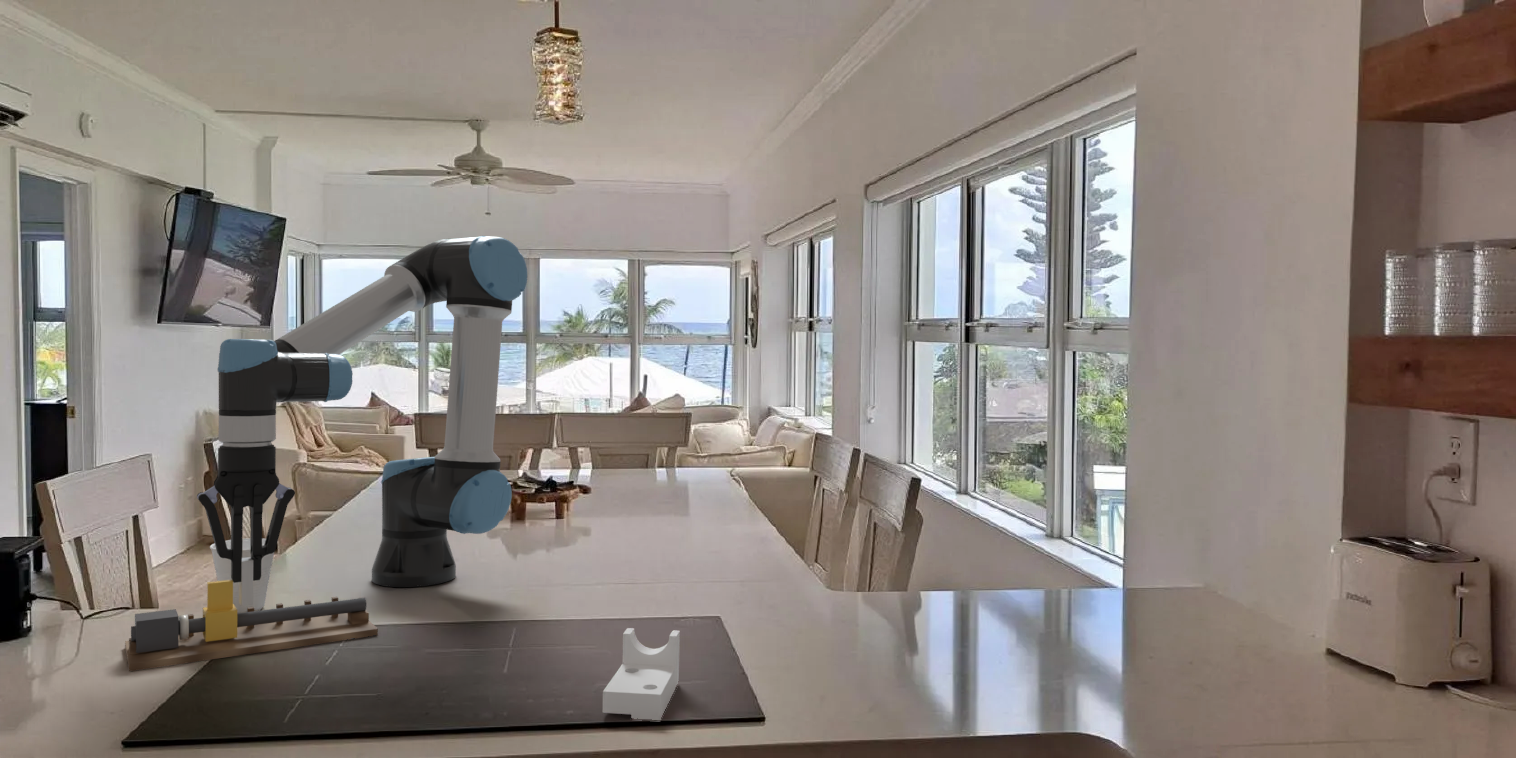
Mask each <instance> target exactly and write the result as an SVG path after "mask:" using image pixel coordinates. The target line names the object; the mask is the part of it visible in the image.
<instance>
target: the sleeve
mask: <svg viewBox="0 0 1516 758" xmlns="http://www.w3.org/2000/svg"><path fill="white" fill-rule="evenodd" d="M206 589H207V590H206V606H205V607H202V618H204V617H205V632H203V637H204V639H205V641H206V642H208V641H215V640H223V639H230V638H237V609H236V607H235V605H234V604H233V580H224V581H217V580H216V581H208V582H207V584H206Z"/></svg>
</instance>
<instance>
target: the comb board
mask: <svg viewBox="0 0 1516 758" xmlns="http://www.w3.org/2000/svg"><path fill="white" fill-rule="evenodd" d="M334 601H339V597H338V596H332V597H331V602H334ZM310 604H312V600H311V599H307V600H304V603H303V605H310ZM275 605H276V608H275V609H277V608H284V604H283V603H282V602H280V603H276V604H275ZM253 611H254V607H247V612H253ZM369 614H370V613H369V611H368V610H367V609H366V610H365V611H359V612H351V613H343V614H336V615H328V616H320V617H313V618H305V619H297V620H290V621H282V622H274V623H267V624H259V625H251V626H244V627H237V638H230V639H223V640H215V641H208V642H206V641H205V639H204V637H203V632H198V633H190V634H189V637H188V639H183V640H180V639H179V635H178V647H177V648H170V649H163V650H155V651H148V652H141V653H136V641H131V637H130V638H128V640H125V642H124V649H125V654H126V662H127V667H128V672H134V671H142V670H147V669H148V670H149V669H155V668H162V667H168V666H169V667H170V666H176V665H181V664H183V665H184V664H189V663H190V664H191V663H197V662H202V661H203V662H204V661H211V660H217V659H222V658H230V657H238V656H244V655H250V654H257V653H265V652H273V651H279V650H286V649H291V648H299V647H307V646H313V645H319V644H320V645H321V644H327V643H333V642H340V641H347V639H348V640H352V639H351V638H355V639H362V638H367V637H368V636H369V637H374V636H373V635H376V636H379V633H378V631H379V630H378V627H377V626H376V625H374V623H372V622H371V620H370V619H369V618H370V617H369ZM187 615H188V619H195V618H194V617H195V615H194V614H193V613H189V614H187ZM369 637H368V638H369Z"/></svg>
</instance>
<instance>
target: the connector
mask: <svg viewBox="0 0 1516 758" xmlns="http://www.w3.org/2000/svg"><path fill="white" fill-rule="evenodd" d="M188 615H189V614H183V615H182V614H181V615H179V614H178V611H177V609H175V608H173V609H166V610H158V611H150V612H149V611H148V612H141V613H135V614H134V626H136V653H141V652H148V651H155V650H163V649H170V648H177V647H178V631H179V621H180V635H179V639H180V640H183V639H188V637H189V620H188Z"/></svg>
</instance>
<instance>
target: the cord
mask: <svg viewBox="0 0 1516 758" xmlns="http://www.w3.org/2000/svg"><path fill="white" fill-rule="evenodd" d="M365 610H366V611H367V599H366V597H361V598H360V597H359V598H351V599H343V600H338V601H334V602H332V601H326V602H319V603H311V604H310V605H304V604H302V605H294V606H288V607H283V608H277V609H276V608H270V609H261V610H259V611H253V612H245V613H237V627H244V626H251V625H259V624H267V623H274V622H282V621H290V620H297V619H305V618H313V617H320V616H328V615H336V614H343V613H351V612H359V611H365ZM188 620H189V634H190V633H198V632H205V617H204V618H203V617H198V618H194V619H188ZM178 635H180V621H179V631H178ZM130 638H131V641H136V626H135V625H134V626H133V625H132V626H131V627H130Z"/></svg>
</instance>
